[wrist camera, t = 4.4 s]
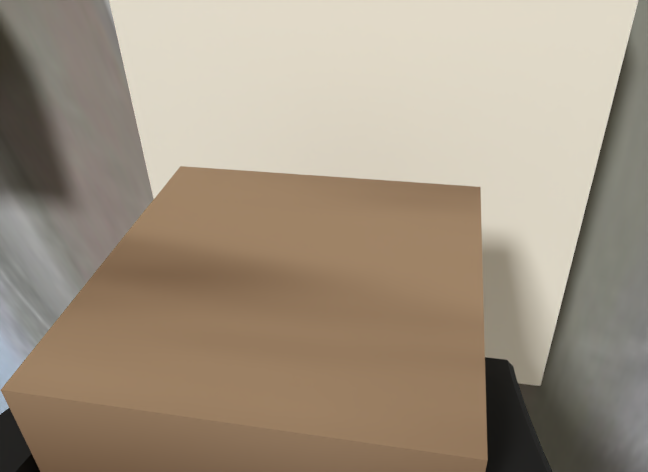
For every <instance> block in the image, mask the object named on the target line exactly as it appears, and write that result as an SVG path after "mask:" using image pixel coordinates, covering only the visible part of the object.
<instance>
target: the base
mask: <svg viewBox="0 0 648 472" xmlns="http://www.w3.org/2000/svg"><path fill="white" fill-rule="evenodd" d="M109 1H110V6H111V10H112V15H113V19H114V24H115V28H116V33H117V37H118V42H119V46H120V51H121V55H122V59H123V64H124V68H125V73H126V77H127V82H128V86H129V91H130V95H131V100H132V104H133V109H134V113H135V118H136V122H137V126H138V131H139V135H140V140H141V144H142V149H143V153H144V158H145V162H146V167H147V171H148V176H149V180H150V184H151V189H152V193H153V198H154V199H155V197H156V196H157V195H158V194H159V192H160V191H161V190H162V189H163V187H164V186H165V185H166V184H167V182H168V181H169V180H170V179H171V177H172V176H173V175H174V174H175V172H176V171H177V170H178V169H179V167H180V166H185V167H200V168H214V169H229V170H243V171H258V172H272V173H287V174H301V175H316V176H330V177H345V178H359V179H374V180H388V181H403V182H417V183H432V184H446V185H461V186H475V187H480V189H481V227H482V265H483V303H484V341H485V357H488V358H496V359H505V360H508V361H509V362H510V363H511V364H512V365H513V367H514V371H515V375H516V379H517V382H518V383H520V384H528V385H536V386H541V382H542V378H543V374H544V370H545V366H546V362H547V358H548V354H549V350H550V346H551V342H552V338H553V334H554V330H555V326H556V323H557V319H558V315H559V311H560V307H561V303H562V299H563V295H564V291H565V287H566V283H567V279H568V275H569V271H570V267H571V263H572V259H573V256H574V252H575V248H576V244H577V240H578V236H579V232H580V228H581V224H582V220H583V216H584V212H585V208H586V204H587V200H588V196H589V192H590V189H591V185H592V181H593V177H594V173H595V169H596V165H597V161H598V157H599V153H600V149H601V145H602V141H603V137H604V133H605V129H606V125H607V122H608V118H609V114H610V110H611V106H612V102H613V98H614V94H615V90H616V86H617V82H618V78H619V74H620V70H621V66H622V62H623V59H624V55H625V51H626V47H627V43H628V39H629V35H630V31H631V27H632V23H633V19H634V15H635V11H636V7H637V3H638V0H109Z"/></svg>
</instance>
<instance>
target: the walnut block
mask: <svg viewBox="0 0 648 472" xmlns="http://www.w3.org/2000/svg"><path fill="white" fill-rule="evenodd" d="M1 391H2V393H3V396H4V398H5V400H6V402H7V404H8V406H9V408H10V410H11V412H12V414H13V416H14V418H15V420H16V422H17V424H18V426H19V428H20V431H21V433H22V435H23V437H24V439H25V441H26V443H27V445H28V447H29V449H30V451H31V453H32V455H33V457H34V459H35V461H36V463H37V466H38V468H39V470H40V472H485V471H486V466H487V461H488V456H487V418H486V380H485V341H484V303H483V265H482V227H481V189H480V187H475V186H461V185H446V184H432V183H417V182H403V181H388V180H374V179H359V178H345V177H330V176H316V175H301V174H287V173H272V172H258V171H243V170H229V169H214V168H200V167H185V166H180V167H179V169H178V170H177V171H176V172H175V174H174V175H173V176H172V177H171V179H170V180H169V181H168V182H167V184H166V185H165V186H164V187H163V189H162V190H161V191H160V192H159V194H158V195H157V196H156V197H155V199H154V200H153V201H152V202H151V204H150V205H149V206H148V207H147V209H146V210H145V211H144V212H143V213H142V215H141V216H140V217H139V218H138V220H137V221H136V222H135V223H134V225H133V226H132V227H131V228H130V230H129V231H128V232H127V233H126V235H125V236H124V237H123V238H122V240H121V241H120V242H119V243H118V245H117V246H116V247H115V248H114V250H113V251H112V252H111V253H110V255H109V256H108V257H107V258H106V260H105V261H104V262H103V263H102V265H101V266H100V267H99V268H98V270H97V271H96V272H95V273H94V275H93V276H92V277H91V278H90V279H89V281H88V282H87V283H86V284H85V286H84V287H83V288H82V289H81V291H80V292H79V293H78V294H77V296H76V297H75V298H74V299H73V301H72V302H71V303H70V304H69V306H68V307H67V308H66V309H65V311H64V312H63V313H62V314H61V316H60V317H59V318H58V319H57V321H56V322H55V323H54V324H53V326H52V327H51V328H50V329H49V331H48V332H47V333H46V334H45V336H44V337H43V338H42V339H41V341H40V342H39V343H38V344H37V346H36V347H35V348H34V349H33V350H32V352H31V353H30V354H29V355H28V357H27V358H26V359H25V360H24V362H23V363H22V364H21V365H20V367H19V368H18V369H17V370H16V372H15V373H14V374H13V375H12V377H11V378H10V379H9V380H8V382H7V383H6V384H5V385H4V387H3V388H2V389H1Z"/></svg>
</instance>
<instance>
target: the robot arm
mask: <svg viewBox="0 0 648 472" xmlns="http://www.w3.org/2000/svg"><path fill="white" fill-rule="evenodd" d="M485 380H486V418H487V456H488V461H487V466H486V471H485V472H552V470H551V468H550V466H549V463H548V461H547V459H546V457H545V454H544V452H543V450H542V447H541V445H540V442H539V440H538V437H537V435H536V432H535V430H534V427H533V425H532V422H531V420H530V417H529V414H528V412H527V409H526V406H525V403H524V400H523V397H522V395H521V392H520V388H519V385H518V382H517V379H516V375H515V371H514V367H513V365H512V364H511V363H510V362H509V361H508V360H505V359H496V358H488V357H485ZM0 472H40V470H39V468H38V466H37V463H36V461H35V459H34V457H33V455H32V453H31V451H30V449H29V447H28V445H27V443H26V441H25V439H24V437H23V435H22V433H21V431H20V428H19V426H18V424H17V422H16V420H15V418H14V416H13V414H12V412H11V410H10V408H9V409H7V410H6V411H4V412H3V413H2V414H0Z"/></svg>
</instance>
